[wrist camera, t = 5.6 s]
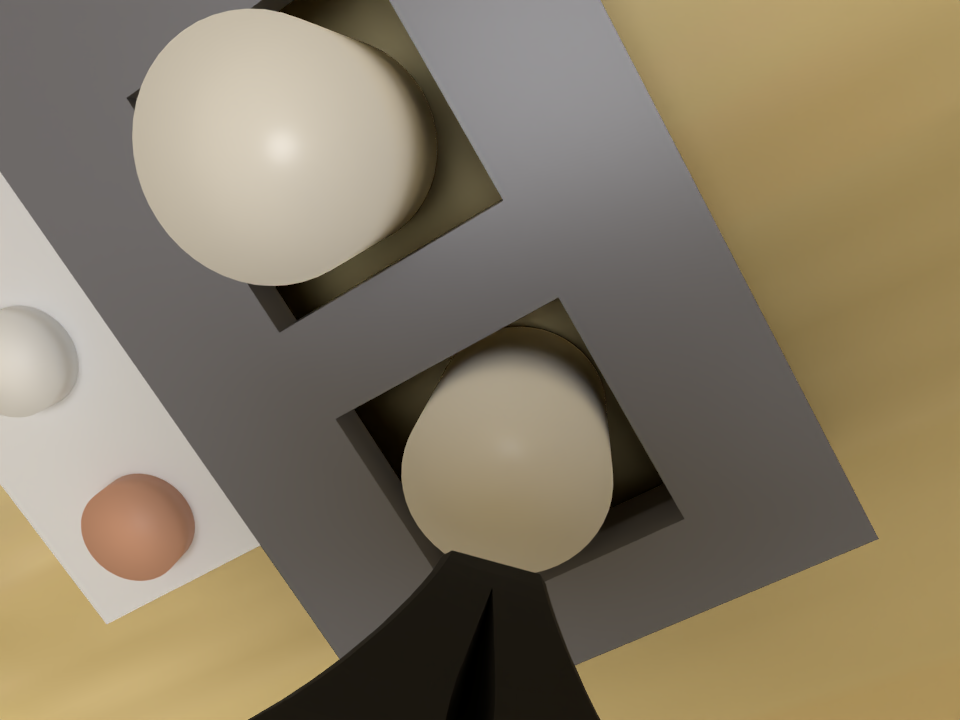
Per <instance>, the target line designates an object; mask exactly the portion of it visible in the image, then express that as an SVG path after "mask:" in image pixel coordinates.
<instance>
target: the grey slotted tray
mask: <svg viewBox="0 0 960 720" xmlns="http://www.w3.org/2000/svg"><path fill="white" fill-rule="evenodd" d="M292 1H293V0H0V172H1V174H2V175H3V177H4V178H5V179H6V181H7V182H8V184H9V185H10V187H11V188H12V190H13V191H14V192H15V194H16V195H17V197H18V198H19V200H20V201H21V202H22V204H23V205H24V207H25V208H26V210H27V211H28V212H29V214H30V215H31V217H32V218H33V220H34V221H35V223H36V224H37V225H38V227H39V228H40V230H41V231H42V233H43V234H44V235H45V237H46V238H47V240H48V241H49V243H50V244H51V246H52V247H53V248H54V250H55V251H56V253H57V254H58V256H59V257H60V258H61V260H62V261H63V263H64V264H65V266H66V267H67V268H68V270H69V271H70V273H71V274H72V276H73V277H74V279H75V280H76V281H77V283H78V284H79V286H80V287H81V289H82V290H83V291H84V293H85V294H86V296H87V297H88V299H89V300H90V301H91V303H92V304H93V306H94V307H95V309H96V310H97V312H98V313H99V314H100V316H101V317H102V319H103V320H104V322H105V323H106V324H107V326H108V327H109V329H110V330H111V332H112V333H113V334H114V336H115V337H116V339H117V340H118V342H119V343H120V345H121V346H122V347H123V349H124V350H125V352H126V353H127V355H128V356H129V357H130V359H131V360H132V362H133V363H134V365H135V366H136V367H137V369H138V370H139V372H140V373H141V375H142V376H143V378H144V379H145V380H146V382H147V383H148V385H149V386H150V388H151V389H152V390H153V392H154V393H155V395H156V396H157V398H158V399H159V401H160V402H161V403H162V405H163V406H164V408H165V409H166V411H167V412H168V413H169V415H170V416H171V418H172V419H173V421H174V422H175V423H176V425H177V426H178V428H179V429H180V431H181V432H182V434H183V435H184V436H185V438H186V439H187V441H188V442H189V444H190V445H191V446H192V448H193V449H194V451H195V452H196V454H197V455H198V456H199V458H200V459H201V461H202V462H203V464H204V465H205V467H206V468H207V469H208V471H209V472H210V474H211V475H212V477H213V478H214V479H215V481H216V482H217V484H218V485H219V487H220V488H221V489H222V491H223V492H224V494H225V495H226V497H227V498H228V500H229V501H230V502H231V504H232V505H233V507H234V508H235V510H236V511H237V512H238V514H239V515H240V517H241V518H242V520H243V521H244V522H245V524H246V525H247V527H248V528H249V530H250V531H251V533H252V534H253V535H254V537H255V538H256V540H257V541H258V543H259V544H260V545H261V547H262V548H263V550H264V551H265V553H266V554H267V556H268V557H269V558H270V560H271V561H272V563H273V564H274V566H275V567H276V568H277V570H278V571H279V573H280V574H281V576H282V577H283V578H284V580H285V581H286V583H287V584H288V586H289V587H290V589H291V590H292V591H293V593H294V594H295V596H296V597H297V599H298V600H299V601H300V603H301V604H302V606H303V607H304V609H305V610H306V611H307V613H308V614H309V616H310V617H311V619H312V620H313V622H314V623H315V624H316V626H317V627H318V629H319V630H320V632H321V633H322V634H323V636H324V637H325V639H326V640H327V642H328V643H329V644H330V646H331V647H332V649H333V650H334V652H335V653H336V655H337V656H338V657H339V659H341V658H342V657H343V656H344V655H346V654H347V653H348V652H349V651H350V650H352V649H353V648H354V647H355V646H356V645H358V644H359V643H360V642H361V641H362V640H364V639H365V638H366V637H367V636H368V635H370V634H371V633H372V632H373V631H374V630H376V629H377V628H378V627H379V626H380V625H381V624H382V623H383V622H384V621H385V620H386V619H387V618H388V617H389V616H390V615H391V614H392V613H393V612H395V611H396V610H397V609H398V608H399V607H400V606H401V605H402V604H403V603H404V602H405V601H406V600H407V599H408V598H409V597H410V596H411V595H412V593H413V592H414V591H415V590H416V589H417V588H418V587H419V586H420V585H421V584H422V582H423V581H424V580H425V579H426V578H427V576H428V575H429V574H430V573H431V571H432V570H433V569H434V567H435V566H436V565H437V563H438V562H439V560H440V558H441V556H442V555H444V554H445V553H443V552H442V551H441V550H440V549H438V548H437V547H436V546H435V545H434V544H433V543H432V542H431V541H430V540H429V539H428V538H427V537H426V536H425V535H424V534H423V532H422V531H421V529H420V528H419V527H418V525H417V524H416V522H415V520H414V519H413V517H412V515H411V513H410V511H409V508H408V506H407V503H406V500H405V496H404V492H403V487H402V483H401V482H400V480H399V479H398V477H397V475H396V474H395V472H394V471H393V469H392V468H391V466H390V465H389V463H388V462H387V460H386V458H385V457H384V455H383V454H382V452H381V451H380V449H379V448H378V446H377V444H376V443H375V441H374V440H373V438H372V437H371V435H370V434H369V432H368V430H367V429H366V427H365V426H364V424H363V423H362V421H361V420H360V418H359V417H358V415H357V413H356V412H355V410H354V409H355V408H357V407H358V406H360V405H362V404H364V403H366V402H368V401H369V400H371V399H373V398H375V397H377V396H379V395H380V394H382V393H384V392H386V391H388V390H390V389H391V388H393V387H395V386H397V385H399V384H401V383H402V382H404V381H406V380H408V379H410V378H412V377H413V376H415V375H417V374H419V373H421V372H423V371H424V370H426V369H428V368H430V367H432V366H434V365H435V364H437V363H439V362H441V361H443V360H445V359H446V358H448V357H450V356H452V355H454V354H456V353H457V352H459V351H461V350H463V349H465V348H467V347H468V346H470V345H472V344H474V343H476V342H478V341H479V340H481V339H483V338H485V337H487V336H489V335H490V334H492V333H494V332H496V331H498V330H500V329H501V328H503V327H505V326H507V325H509V324H511V323H512V322H514V321H516V320H518V319H520V318H522V317H523V316H525V315H527V314H529V313H531V312H533V311H534V310H536V309H538V308H540V307H542V306H544V305H545V304H547V303H549V302H551V301H553V300H555V299H556V298H559V299H560V301H561V303H562V305H563V306H564V308H565V310H566V312H567V313H568V315H569V317H570V319H571V320H572V322H573V324H574V326H575V327H576V329H577V331H578V333H579V334H580V336H581V338H582V340H583V342H584V343H585V345H586V347H587V349H588V350H589V352H590V354H591V356H592V357H593V359H594V361H595V363H596V364H597V366H598V368H599V370H600V371H601V373H602V375H603V377H604V378H605V380H606V382H607V384H608V385H609V387H610V389H611V391H612V392H613V394H614V396H615V398H616V399H617V401H618V403H619V405H620V406H621V408H622V410H623V412H624V414H625V415H626V417H627V419H628V421H629V422H630V424H631V426H632V428H633V429H634V431H635V433H636V435H637V436H638V438H639V440H640V442H641V443H642V445H643V447H644V449H645V450H646V452H647V454H648V456H649V457H650V459H651V461H652V463H653V464H654V466H655V468H656V470H657V471H658V473H659V475H660V477H661V478H662V480H663V482H664V484H662V485H660V486H658V487H656V488H653V489H651V490H649V491H647V492H645V493H643V494H640V495H638V496H636V497H634V498H632V499H630V500H628V501H625V502H623V503H621V504H619V505H617V506H615V507H613V508H610V509H609V511H608V513H607V516H606V518H605V520H604V523H603V524H602V526H601V528H600V529H599V531H598V532H597V534H596V535H595V536H594V538H593V539H592V540H591V541H590V543H589V544H588V545H586V546H585V547H584V548H583V549H582V550H581V551H580V552H579V553H577V554H576V555H575V556H573V557H572V558H570V559H569V560H567V561H565V562H563V563H561V564H560V565H558V566H555V567H552V568H550V569H547V570H544V571H540V572H536V573H538V574H540V575H541V576H542V578H543V580H544V582H545V583H546V587H547V591H548V594H549V598H550V601H551V604H552V607H553V610H554V613H555V616H556V619H557V622H558V625H559V627H560V630H561V633H562V636H563V638H564V641H565V643H566V646H567V648H568V651H569V654H570V656H571V658H572V660H573V663H574V665H577V664H579V663H582V662H584V661H586V660H589V659H591V658H594V657H596V656H599V655H601V654H603V653H606V652H608V651H611V650H613V649H615V648H618V647H620V646H623V645H625V644H627V643H630V642H632V641H635V640H637V639H639V638H642V637H644V636H647V635H649V634H651V633H654V632H656V631H659V630H661V629H663V628H666V627H668V626H671V625H673V624H675V623H678V622H680V621H683V620H685V619H687V618H690V617H692V616H695V615H697V614H699V613H702V612H704V611H707V610H709V609H711V608H714V607H716V606H719V605H721V604H723V603H726V602H728V601H731V600H733V599H735V598H738V597H740V596H743V595H745V594H747V593H750V592H752V591H755V590H757V589H759V588H762V587H764V586H767V585H769V584H771V583H774V582H776V581H779V580H781V579H783V578H786V577H788V576H791V575H793V574H795V573H798V572H800V571H803V570H805V569H807V568H810V567H812V566H815V565H817V564H819V563H822V562H824V561H827V560H829V559H831V558H834V557H836V556H839V555H841V554H843V553H846V552H848V551H851V550H853V549H855V548H858V547H860V546H863V545H865V544H867V543H870V542H872V541H875V540H877V539H878V537H877V535H876V533H875V531H874V529H873V527H872V525H871V523H870V521H869V519H868V517H867V515H866V513H865V512H864V510H863V508H862V506H861V504H860V502H859V500H858V498H857V496H856V494H855V492H854V490H853V488H852V486H851V484H850V482H849V481H848V479H847V477H846V475H845V473H844V471H843V469H842V467H841V465H840V463H839V461H838V459H837V457H836V455H835V453H834V452H833V450H832V448H831V446H830V444H829V442H828V440H827V438H826V436H825V434H824V432H823V430H822V428H821V426H820V424H819V422H818V421H817V419H816V417H815V415H814V413H813V411H812V409H811V407H810V405H809V403H808V401H807V399H806V397H805V395H804V393H803V392H802V390H801V388H800V386H799V384H798V382H797V380H796V378H795V376H794V374H793V372H792V370H791V368H790V366H789V364H788V362H787V361H786V359H785V357H784V355H783V353H782V351H781V349H780V347H779V345H778V343H777V341H776V339H775V337H774V335H773V333H772V331H771V330H770V328H769V326H768V324H767V322H766V320H765V318H764V316H763V314H762V312H761V310H760V308H759V306H758V304H757V302H756V301H755V299H754V297H753V295H752V293H751V291H750V289H749V287H748V285H747V283H746V281H745V279H744V277H743V275H742V273H741V271H740V270H739V268H738V266H737V264H736V262H735V260H734V258H733V256H732V254H731V252H730V250H729V248H728V246H727V244H726V242H725V241H724V239H723V237H722V235H721V233H720V231H719V229H718V227H717V225H716V223H715V221H714V219H713V217H712V215H711V213H710V211H709V210H708V208H707V206H706V204H705V202H704V200H703V198H702V196H701V194H700V192H699V190H698V188H697V186H696V184H695V182H694V181H693V179H692V177H691V175H690V173H689V171H688V169H687V167H686V165H685V163H684V161H683V159H682V157H681V155H680V153H679V151H678V150H677V148H676V146H675V144H674V142H673V140H672V138H671V136H670V134H669V132H668V130H667V128H666V126H665V124H664V122H663V121H662V119H661V117H660V115H659V113H658V111H657V109H656V107H655V105H654V103H653V101H652V99H651V97H650V95H649V93H648V91H647V90H646V88H645V86H644V84H643V82H642V80H641V78H640V76H639V74H638V72H637V70H636V68H635V66H634V64H633V62H632V61H631V59H630V57H629V55H628V53H627V51H626V49H625V47H624V45H623V43H622V41H621V39H620V37H619V35H618V33H617V31H616V30H615V28H614V26H613V24H612V22H611V20H610V18H609V16H608V14H607V12H606V10H605V8H604V6H603V4H602V2H601V0H389V1H390V3H391V4H392V6H393V8H394V10H395V11H396V13H397V15H398V17H399V18H400V20H401V22H402V24H403V25H404V27H405V29H406V31H407V32H408V34H409V36H410V38H411V39H412V41H413V43H414V45H415V47H416V48H417V50H418V52H419V54H420V55H421V57H422V59H423V61H424V62H425V64H426V66H427V68H428V69H429V71H430V73H431V75H432V76H433V78H434V80H435V82H436V83H437V85H438V87H439V89H440V90H441V92H442V94H443V96H444V97H445V99H446V101H447V103H448V104H449V106H450V108H451V110H452V111H453V113H454V115H455V117H456V119H457V120H458V122H459V124H460V126H461V127H462V129H463V131H464V133H465V134H466V136H467V138H468V140H469V141H470V143H471V145H472V147H473V148H474V150H475V152H476V154H477V155H478V157H479V159H480V161H481V162H482V164H483V166H484V168H485V169H486V171H487V173H488V175H489V176H490V178H491V180H492V182H493V183H494V185H495V187H496V189H497V191H498V192H499V194H500V196H501V198H502V200H500V201H498V202H497V203H495V204H493V205H492V206H490V207H488V208H487V209H485V210H483V211H482V212H480V213H478V214H476V215H475V216H473V217H471V218H470V219H468V220H466V221H465V222H463V223H461V224H460V225H458V226H456V227H454V228H453V229H451V230H449V231H448V232H446V233H444V234H443V235H441V236H439V237H438V238H436V239H434V240H432V241H431V242H429V243H427V244H426V245H424V246H422V247H421V248H419V249H417V250H416V251H414V252H412V253H410V254H409V255H407V256H405V257H404V258H402V259H400V260H399V261H397V262H395V263H394V264H392V265H390V266H388V267H387V268H385V269H383V270H382V271H380V272H378V273H377V274H375V275H373V276H372V277H370V278H368V279H366V280H365V281H363V282H361V283H360V284H358V285H356V286H355V287H353V288H351V289H349V290H348V291H346V292H344V293H343V294H341V295H339V296H338V297H336V298H334V299H333V300H331V301H329V302H327V303H326V304H324V305H322V306H321V307H319V308H317V309H316V310H314V311H312V312H311V313H309V314H307V315H305V316H304V317H302V318H300V319H299V320H296V319H295V317H294V316H293V314H292V313H291V311H290V309H289V308H288V306H287V305H286V303H285V302H284V300H283V299H282V297H281V295H280V294H279V292H278V291H277V289H276V288H275V286H265V285H254V284H249V283H245V282H240V281H237V280H234V279H231V278H228V277H225V276H223V275H221V274H219V273H217V272H215V271H213V270H211V269H209V268H207V267H205V266H204V265H202V264H201V263H199V262H198V261H196V260H195V259H193V258H192V257H191V256H190V255H189V254H187V253H186V252H185V251H184V250H183V249H181V248H180V247H179V245H178V244H177V243H176V242H175V241H174V240H173V239H172V238H171V237H170V236H169V235H168V233H167V232H166V231H165V229H164V228H163V227H162V225H161V224H160V223H159V221H158V220H157V218H156V216H155V215H154V213H153V211H152V210H151V208H150V206H149V204H148V202H147V200H146V197H145V195H144V193H143V190H142V188H141V184H140V181H139V178H138V175H137V171H136V166H135V161H134V155H133V142H132V131H133V117H134V111H135V106H136V101H137V98H138V94H139V91H140V88H141V85H142V83H143V81H144V79H145V76H146V74H147V72H148V70H149V68H150V67H151V65H152V64H153V62H154V61H155V59H156V57H157V56H158V54H159V53H160V52H161V51H162V50H163V49H164V48H165V46H166V45H167V44H168V43H169V42H170V41H171V40H172V39H173V38H175V37H176V36H177V35H178V34H179V33H180V32H182V31H183V30H184V29H186V28H188V27H189V26H191V25H193V24H194V23H196V22H197V21H200V20H202V19H204V18H207V17H209V16H211V15H214V14H218V13H222V12H226V11H229V10H238V9H266V10H271V11H276V12H278V11H279V10H281V9H282V8H283V7H285V6H286V5H288V4H289V3H290V2H292Z"/></svg>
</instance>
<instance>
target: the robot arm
mask: <svg viewBox="0 0 960 720" xmlns="http://www.w3.org/2000/svg"><path fill="white" fill-rule="evenodd" d="M248 720H600V719H599V717H598V715H597V713H596V711H595V709H594V707H593V705H592V703H591V701H590V698H589V696H588V694H587V692H586V690H585V688H584V686H583V683H582V681H581V679H580V676H579V674H578V672H577V670H576V667H575V665H574V663H573V660H572V658H571V656H570V654H569V651H568V648H567V646H566V643H565V641H564V638H563V636H562V633H561V630H560V627H559V625H558V622H557V619H556V616H555V613H554V610H553V607H552V604H551V601H550V598H549V594H548V591H547V587H546V583H545V582H544V580H543V578H542V576H541V575H540V574H538V573H534V572H530V571H527V570H523V569H519V568H516V567H512V566H508V565H505V564H501V563H497V562H493V561H490V560H486V559H482V558H479V557H475V556H471V555H468V554H464V553H460V552H457V551H453V550H452V551H450V552H448V553H446V554H444V555H442V556H441V558H440V560H439V562H438V563H437V565H436V566H435V567H434V569H433V570H432V571H431V573H430V574H429V575H428V576H427V578H426V579H425V580H424V581H423V582H422V584H421V585H420V586H419V587H418V588H417V589H416V590H415V591H414V592H413V593H412V595H411V596H410V597H409V598H408V599H407V600H406V601H405V602H404V603H403V604H402V605H401V606H400V607H399V608H398V609H397V610H396V611H395V612H393V613H392V614H391V615H390V616H389V617H388V618H387V619H386V620H385V621H384V622H383V623H382V624H381V625H380V626H379V627H378V628H377V629H376V630H374V631H373V632H372V633H371V634H370V635H368V636H367V637H366V638H365V639H364V640H362V641H361V642H360V643H359V644H358V645H356V646H355V647H354V648H353V649H352V650H350V651H349V652H348V653H347V654H346V655H344V656H343V657H342V658H341V659H340V660H338V661H337V662H336V663H334V664H333V665H332V666H330V667H329V668H328V669H326V670H325V671H324V672H322V673H321V674H319V675H318V676H317V677H315V678H314V679H312V680H311V681H310V682H308V683H307V684H305V685H304V686H302V687H301V688H299V689H298V690H296V691H295V692H293V693H292V694H290V695H289V696H287V697H286V698H284V699H282V700H281V701H279V702H277V703H276V704H274V705H272V706H271V707H269V708H267V709H266V710H264V711H262V712H260V713H259V714H257V715H255V716H254V717H252V718H250V719H248Z"/></svg>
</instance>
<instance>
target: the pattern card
mask: <svg viewBox="0 0 960 720" xmlns="http://www.w3.org/2000/svg"><path fill="white" fill-rule="evenodd" d="M0 484H1V486H2V487H3V488H4V490H5V491H6V492H7V494H8V495H9V496H10V498H11V499H12V500H13V501H14V503H15V504H16V505H17V507H18V508H19V509H20V511H21V512H22V513H23V515H24V516H25V517H26V519H27V520H28V521H29V523H30V524H31V525H32V527H33V528H34V529H35V530H36V532H37V533H38V534H39V536H40V537H41V538H42V540H43V541H44V542H45V544H46V545H47V546H48V548H49V549H50V550H51V552H52V553H53V554H54V556H55V557H56V558H57V559H58V561H59V562H60V563H61V565H62V566H63V567H64V569H65V570H66V571H67V573H68V574H69V575H70V577H71V578H72V579H73V581H74V582H75V583H76V585H77V586H78V587H79V588H80V590H81V591H82V592H83V594H84V595H85V596H86V598H87V599H88V600H89V602H90V603H91V604H92V606H93V607H94V608H95V610H96V611H97V612H98V614H99V615H100V616H101V617H102V619H103V620H104V621H105V623H106V624H108V623H110V622H112V621H114V620H116V619H118V618H120V617H122V616H124V615H126V614H128V613H130V612H131V611H133V610H135V609H137V608H139V607H141V606H143V605H145V604H147V603H149V602H151V601H153V600H155V599H157V598H159V597H161V596H163V595H165V594H167V593H169V592H170V591H172V590H174V589H176V588H178V587H180V586H182V585H184V584H186V583H188V582H190V581H192V580H194V579H196V578H198V577H200V576H202V575H204V574H206V573H208V572H209V571H211V570H213V569H215V568H217V567H219V566H221V565H223V564H225V563H227V562H229V561H231V560H233V559H235V558H237V557H239V556H241V555H243V554H245V553H247V552H248V551H250V550H252V549H254V548H256V547H258V546H260V544H259V543H258V541H257V540H256V538H255V537H254V535H253V534H252V533H251V531H250V530H249V528H248V527H247V525H246V524H245V522H244V521H243V520H242V518H241V517H240V515H239V514H238V512H237V511H236V510H235V508H234V507H233V505H232V504H231V502H230V501H229V500H228V498H227V497H226V495H225V494H224V492H223V491H222V489H221V488H220V487H219V485H218V484H217V482H216V481H215V479H214V478H213V477H212V475H211V474H210V472H209V471H208V469H207V468H206V467H205V465H204V464H203V462H202V461H201V459H200V458H199V456H198V455H197V454H196V452H195V451H194V449H193V448H192V446H191V445H190V444H189V442H188V441H187V439H186V438H185V436H184V435H183V434H182V432H181V431H180V429H179V428H178V426H177V425H176V423H175V422H174V421H173V419H172V418H171V416H170V415H169V413H168V412H167V411H166V409H165V408H164V406H163V405H162V403H161V402H160V401H159V399H158V398H157V396H156V395H155V393H154V392H153V390H152V389H151V388H150V386H149V385H148V383H147V382H146V380H145V379H144V378H143V376H142V375H141V373H140V372H139V370H138V369H137V367H136V366H135V365H134V363H133V362H132V360H131V359H130V357H129V356H128V355H127V353H126V352H125V350H124V349H123V347H122V346H121V345H120V343H119V342H118V340H117V339H116V337H115V336H114V334H113V333H112V332H111V330H110V329H109V327H108V326H107V324H106V323H105V322H104V320H103V319H102V317H101V316H100V314H99V313H98V312H97V310H96V309H95V307H94V306H93V304H92V303H91V301H90V300H89V299H88V297H87V296H86V294H85V293H84V291H83V290H82V289H81V287H80V286H79V284H78V283H77V281H76V280H75V279H74V277H73V276H72V274H71V273H70V271H69V270H68V268H67V267H66V266H65V264H64V263H63V261H62V260H61V258H60V257H59V256H58V254H57V253H56V251H55V250H54V248H53V247H52V246H51V244H50V243H49V241H48V240H47V238H46V237H45V235H44V234H43V233H42V231H41V230H40V228H39V227H38V225H37V224H36V223H35V221H34V220H33V218H32V217H31V215H30V214H29V212H28V211H27V210H26V208H25V207H24V205H23V204H22V202H21V201H20V200H19V198H18V197H17V195H16V194H15V192H14V191H13V190H12V188H11V187H10V185H9V184H8V182H7V181H6V179H5V178H4V177H3V175H2V174H1V172H0Z"/></svg>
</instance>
